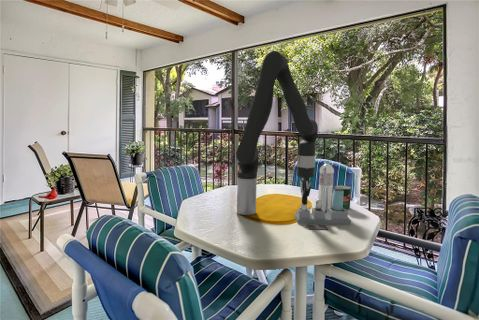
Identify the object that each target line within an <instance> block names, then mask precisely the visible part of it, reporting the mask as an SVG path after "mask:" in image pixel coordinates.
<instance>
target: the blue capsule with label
mask: <svg viewBox="0 0 479 320" xmlns="http://www.w3.org/2000/svg"><path fill="white" fill-rule="evenodd" d="M343 193H344V191H343V189H342V188H335V187H333V198H332V211H342V209H343Z"/></svg>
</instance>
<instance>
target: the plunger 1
mask: <svg viewBox="0 0 479 320" xmlns="http://www.w3.org/2000/svg"><path fill="white" fill-rule="evenodd" d="M300 208H301V210H307V208H308V204H307V205H305V204H302V202H301V203H300Z"/></svg>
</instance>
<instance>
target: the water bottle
mask: <svg viewBox="0 0 479 320" xmlns="http://www.w3.org/2000/svg"><path fill="white" fill-rule="evenodd" d="M334 173H335V169H334V167H333V166H332V164H330V160H325V161H324V164H322V165H321V166H320V168H319V177H318V179H319V180H318V183H319V184H318V195H317V197H318V198H317V199H322V208H323V209H324V211H325V213H327V207H332V202H333V190H334Z"/></svg>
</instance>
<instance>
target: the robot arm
mask: <svg viewBox="0 0 479 320" xmlns="http://www.w3.org/2000/svg"><path fill="white" fill-rule="evenodd" d="M258 80H259V81H258V83H257V87H256V89H255V93H254V96H253V100H252V102H251V105H250V109H249V113H248V116H247V119H246V124H245V128H244V130H243V131H244V132H243V134H242V137H241V140H240V142H239V144H238V146H237V148H236V151H235V157H236V161H238V163H239V166H238V169H237V177H236V180H237V181H236V182H237V183H236V186H237V189H236V214H237V215H238V214H239V215H243V216H250V215H252V216H253V215H255V214H256V213H257V190H258V189H257V187H258V186H257V184H258V183H257V182H258V181H257V180H258V178H257V177H258V176H257V175H258V170H259V150H258V149H259V148H258V147H257V145H258V142H259V140H260V136H261V134H262V132H263V130H264V129H265V127H266V125H267V123H268V121H269V119H270V116H271V113H272V110H273V109H272V108H273V103H274V87H275V84H276V81H277V82H278V84H279V86H280V89H281V91H282V94H283V98H284V101H285V103H286V106H287V108H288V110H289V112H290V114H291V115H292V120H293V124H294V127H295V129H296V131H297V132H298V134H299V135H301V141H300V142H299V143H298V151H297V154H298V155H297V161H296V162H297V163H296V176H297V177H299V178H301V179H300V180H299V183H300V184H299V185H300V193H301V203H302V204H305V205H307V206H308V197H309V196H310V194H311V193H310V192H311V190H312V188H311V184H312V183H311V181H310V179H311V178H314V177H315V175H316V174H315V173H316V172H315V170H316V168H315V167H316V158H315V157H316V156H315V154H316V143H317V138H318V130H319V127H318V126H319V125H318V123H317V121H316V120H314V119H310V117H309V115H308V114H309V113H308V107H307V104H306V103H305V101H304V99H303V96H302V95H301V93H300V91H299V89H298V88H297V85H296V82H295V80H294V79H293V75H292V72H291V70H290V66H289V63H288V59H287V58H286V57H285V56H284V55H283V54H282V53H281V52H279V51H277V50H272V51H269V52H267V54H266V55H265V56H264V58H263V61H262V64H261V70H260V74H259V79H258Z"/></svg>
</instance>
